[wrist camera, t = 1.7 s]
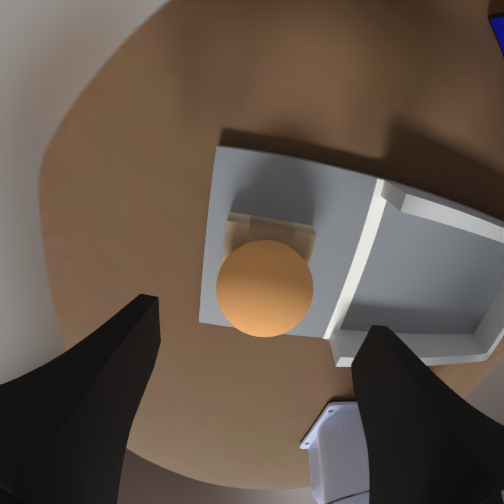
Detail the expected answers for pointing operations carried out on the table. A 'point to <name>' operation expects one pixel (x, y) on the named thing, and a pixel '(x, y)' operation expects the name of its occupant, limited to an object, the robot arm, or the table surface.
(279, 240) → the frame
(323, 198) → the tray
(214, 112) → the table surface
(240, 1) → the table surface
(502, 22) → the puzzle cube
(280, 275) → the ball
